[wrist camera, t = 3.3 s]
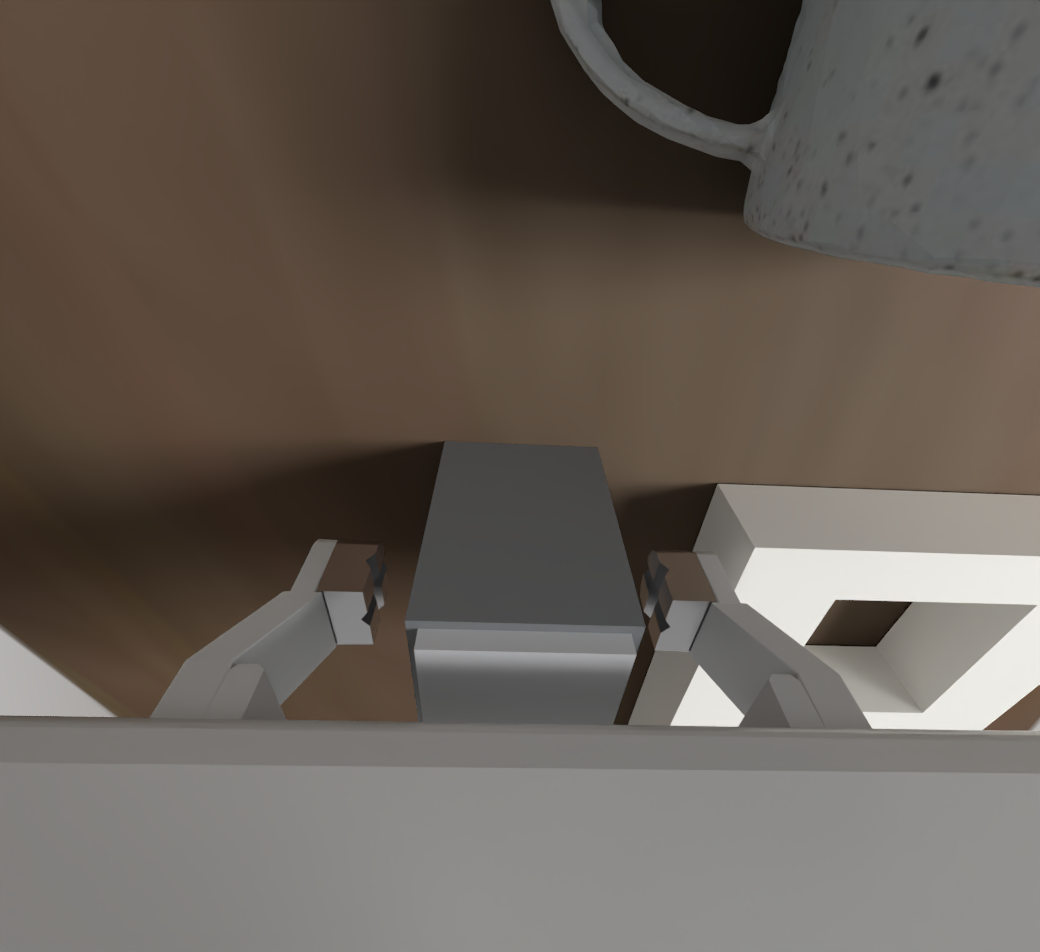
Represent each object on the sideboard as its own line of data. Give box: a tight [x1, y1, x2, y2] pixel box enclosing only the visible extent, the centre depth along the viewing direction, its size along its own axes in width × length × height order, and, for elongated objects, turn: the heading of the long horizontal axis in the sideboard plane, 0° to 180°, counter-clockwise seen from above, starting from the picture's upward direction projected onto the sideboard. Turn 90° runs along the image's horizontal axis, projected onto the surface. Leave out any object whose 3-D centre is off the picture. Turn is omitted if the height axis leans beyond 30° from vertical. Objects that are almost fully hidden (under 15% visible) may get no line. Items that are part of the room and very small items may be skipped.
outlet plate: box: [628, 484, 1040, 730], centre depth 17 cm, size 16×11×2 cm
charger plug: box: [405, 441, 646, 725], centre depth 11 cm, size 4×4×6 cm
